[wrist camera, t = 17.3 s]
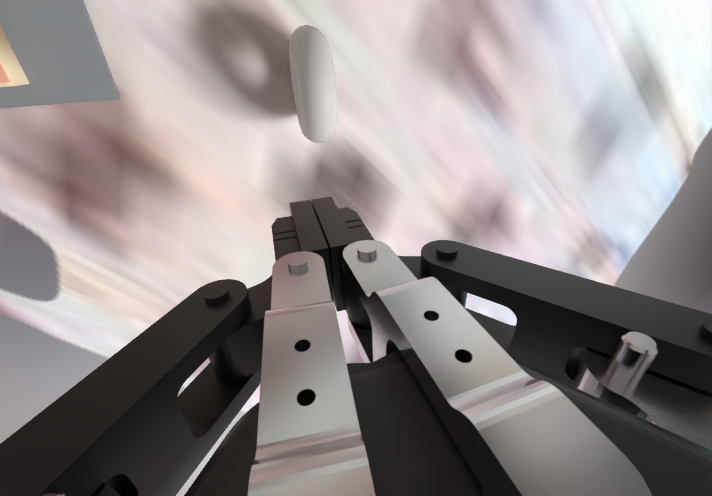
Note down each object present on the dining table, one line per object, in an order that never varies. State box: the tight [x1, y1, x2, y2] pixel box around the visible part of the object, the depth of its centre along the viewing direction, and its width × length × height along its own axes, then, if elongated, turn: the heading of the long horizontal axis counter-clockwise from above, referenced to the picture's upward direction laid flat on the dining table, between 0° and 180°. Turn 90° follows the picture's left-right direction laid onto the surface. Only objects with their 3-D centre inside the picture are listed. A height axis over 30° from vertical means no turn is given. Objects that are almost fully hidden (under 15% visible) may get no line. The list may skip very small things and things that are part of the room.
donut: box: [289, 25, 338, 143], centre depth 32 cm, size 10×4×10 cm, turn 3°
